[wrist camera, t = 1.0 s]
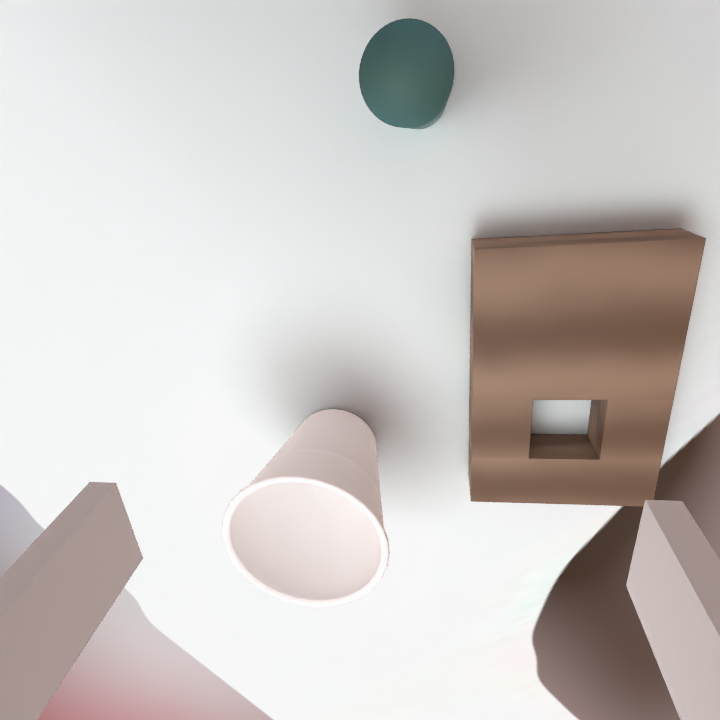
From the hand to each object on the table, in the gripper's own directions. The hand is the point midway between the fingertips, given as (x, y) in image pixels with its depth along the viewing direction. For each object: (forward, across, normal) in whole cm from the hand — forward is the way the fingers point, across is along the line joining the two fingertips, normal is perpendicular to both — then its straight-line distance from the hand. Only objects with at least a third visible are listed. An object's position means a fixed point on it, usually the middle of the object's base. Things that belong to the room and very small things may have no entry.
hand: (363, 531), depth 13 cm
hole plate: (+22, +10, -7) cm, 25 cm away
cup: (+22, -6, -13) cm, 26 cm away
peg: (+23, +1, +10) cm, 25 cm away
